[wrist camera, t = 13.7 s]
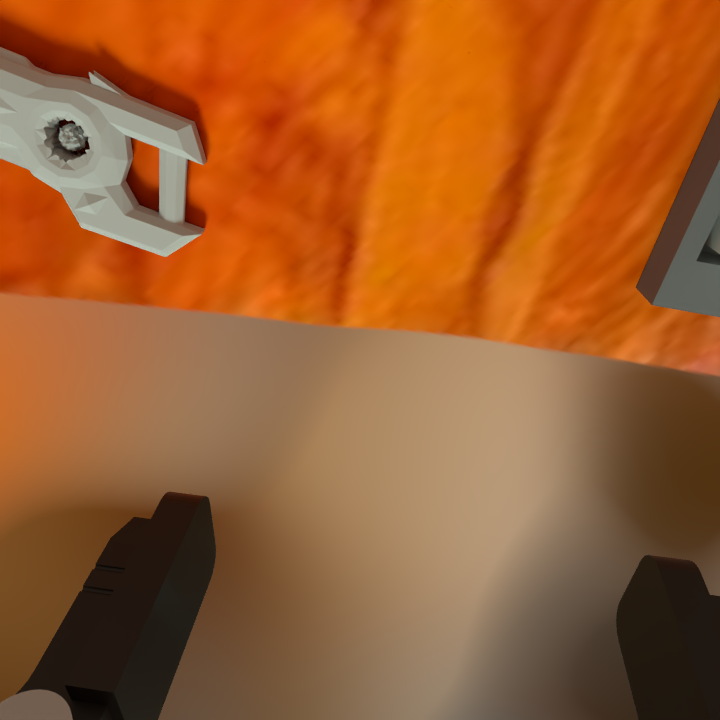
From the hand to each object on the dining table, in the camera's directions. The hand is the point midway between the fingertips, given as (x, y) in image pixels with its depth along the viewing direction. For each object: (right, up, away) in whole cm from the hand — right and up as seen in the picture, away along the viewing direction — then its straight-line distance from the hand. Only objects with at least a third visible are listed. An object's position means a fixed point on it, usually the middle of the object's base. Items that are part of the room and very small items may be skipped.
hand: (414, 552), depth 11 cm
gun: (-20, +18, +29) cm, 39 cm away
